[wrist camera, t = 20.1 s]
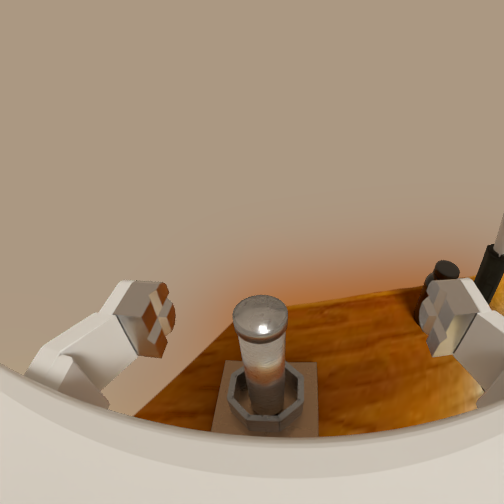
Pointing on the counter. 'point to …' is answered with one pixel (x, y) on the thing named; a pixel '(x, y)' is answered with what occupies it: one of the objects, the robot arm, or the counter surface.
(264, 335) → the grey tall capped cylinder
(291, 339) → the counter surface
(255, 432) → the duct collar
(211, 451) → the robot arm
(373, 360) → the counter surface
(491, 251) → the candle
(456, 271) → the supplement bottle
